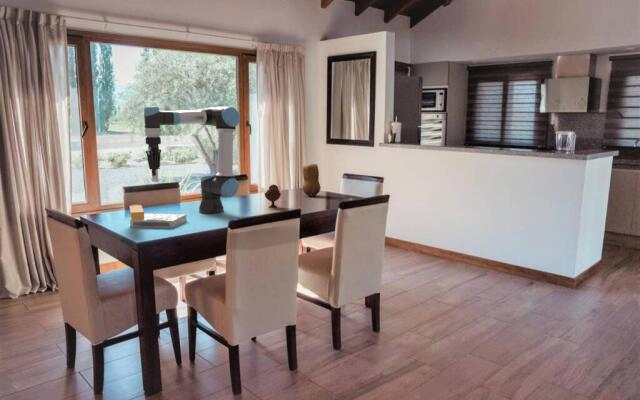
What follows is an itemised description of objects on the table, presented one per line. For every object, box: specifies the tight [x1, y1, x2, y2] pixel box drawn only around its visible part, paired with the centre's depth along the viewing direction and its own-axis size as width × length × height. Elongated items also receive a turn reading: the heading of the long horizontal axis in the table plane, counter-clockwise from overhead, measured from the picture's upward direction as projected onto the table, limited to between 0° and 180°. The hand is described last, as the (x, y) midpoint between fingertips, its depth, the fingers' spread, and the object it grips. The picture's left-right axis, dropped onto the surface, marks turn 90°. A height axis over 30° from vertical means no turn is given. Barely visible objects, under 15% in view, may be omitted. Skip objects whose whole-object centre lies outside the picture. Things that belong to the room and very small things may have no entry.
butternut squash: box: [302, 163, 322, 197], centre depth 366 cm, size 14×13×25 cm
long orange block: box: [129, 204, 145, 221], centre depth 251 cm, size 6×24×4 cm, turn 23°
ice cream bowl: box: [264, 184, 282, 209], centre depth 318 cm, size 11×11×15 cm
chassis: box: [129, 212, 188, 229], centre depth 266 cm, size 18×24×7 cm
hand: (155, 181), depth 256 cm, fingers closed
